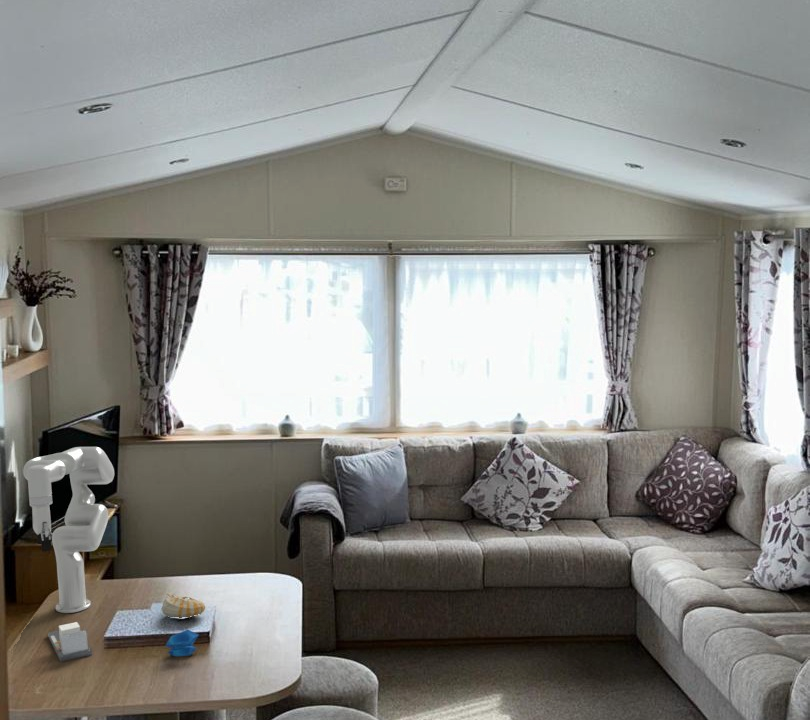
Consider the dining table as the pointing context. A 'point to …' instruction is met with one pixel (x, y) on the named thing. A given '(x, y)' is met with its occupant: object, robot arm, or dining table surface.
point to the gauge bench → (71, 656)
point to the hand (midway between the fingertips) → (44, 547)
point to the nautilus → (182, 607)
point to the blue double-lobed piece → (182, 643)
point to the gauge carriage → (68, 629)
